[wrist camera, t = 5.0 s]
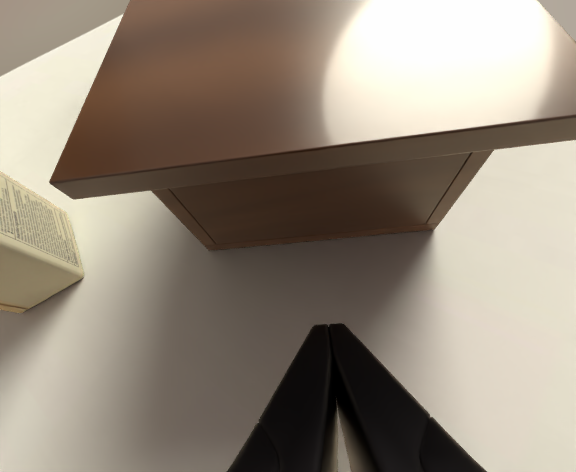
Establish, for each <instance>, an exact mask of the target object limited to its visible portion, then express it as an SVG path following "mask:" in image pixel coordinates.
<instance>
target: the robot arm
mask: <svg viewBox="0 0 576 472" xmlns="http://www.w3.org/2000/svg"><path fill="white" fill-rule="evenodd" d="M336 400H337V402H336ZM337 408H338V414H339V419H340V424H341V428H342V433H343V437H344V441H345V446H346V450H347V454H348V459H349V463H350V467H351V472H487V471H486V470H485V469H483V468H482V467H481V466H480V465H479V464H478V463H477V462H476V461H475V460H474V459H473V458H472V457H471V456H470V455H469V454H468V453H467V452H466V451H465V450H464V449H463V448H462V447H461V446H460V445H459V444H458V443H457V442H456V441H455V440H454V439H453V438H452V437H451V436H450V435H449V434H448V433H447V432H446V431H445V430H444V429H443V428H442V427H441V426H440V425H439V423H438V422H437V421H436V420H435V419H434V418H433V417H430V414H429V413H428V412H427V411H426V410H425V409H424V408H423V407H422V406H421V405H420V404H419V402H418V401H417V400H416V399H415V398H414V397H413V396H412V395H411V394H410V393H409V392H408V391H407V390H406V389H405V388H404V387H403V386H402V385H401V383H400V382H399V381H398V380H397V379H396V378H395V377H394V376H393V375H392V374H391V373H390V372H389V371H388V370H387V369H386V368H385V367H384V365H383V364H382V363H381V362H380V361H379V360H378V359H377V358H376V357H375V356H374V355H373V354H372V353H371V352H370V351H369V350H368V349H367V348H366V346H365V345H364V344H363V343H362V342H361V341H360V340H359V339H358V338H357V337H356V336H355V335H354V334H353V333H352V332H351V331H350V330H349V328H348V327H347V326H346V325H345V324H343V323H336V324H330V325H329V326H328V325H327V324H321V325H314V326H313V327H312V329H311V330H310V332H309V334H308V336H307V337H306V339H305V341H304V343H303V344H302V346H301V348H300V349H299V351H298V353H297V355H296V356H295V358H294V360H293V362H292V363H291V365H290V367H289V368H288V370H287V372H286V374H285V375H284V377H283V379H282V381H281V382H280V384H279V386H278V387H277V389H276V391H275V393H274V394H273V396H272V398H271V400H270V401H269V403H268V405H267V406H266V408H265V410H264V412H263V413H262V415H261V417H260V419H259V423H257V424H256V425H255V427H254V429H253V430H252V432H251V434H250V436H249V437H248V439H247V441H246V442H245V444H244V446H243V447H242V449H241V450H240V452H239V454H238V455H237V457H236V459H235V460H234V462H233V463H232V465H231V466H230V468H229V469H228V471H227V472H338V416H337Z"/></svg>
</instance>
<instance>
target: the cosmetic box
mask: <svg viewBox="0 0 576 472" xmlns="http://www.w3.org/2000/svg"><path fill="white" fill-rule="evenodd" d="M83 276H84V273H83V269H82V265H81V260H80V256H79V253H78V249H77V246H76V242H75V238H74V234H73V231H72V227H71V224H70V221H69V218H68V215H67V213H66V212H65V211H63V210H62V209H60V208H58V207H57V206H55V205H54V204H52V203H50V202H49V201H47V200H46V199H44V198H42V197H41V196H39V195H38V194H36V193H34V192H33V191H31V190H30V189H28V188H26V187H25V186H23V185H22V184H20V183H18V182H17V181H15V180H14V179H12V178H10V177H9V176H7V175H6V174H4V173H2V172H1V171H0V310H5V311H10V312H15V313H23V312H24V311H26V310H28V309H30V308H31V307H33V306H35V305H37V304H39V303H40V302H42V301H44V300H46V299H47V298H49V297H51V296H52V295H54V294H56V293H58V292H59V291H61V290H63V289H65V288H66V287H68V286H70V285H71V284H73V283H75V282H77V281H78V280H80V279H81V278H83Z"/></svg>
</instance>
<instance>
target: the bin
mask: <svg viewBox="0 0 576 472" xmlns="http://www.w3.org/2000/svg"><path fill="white" fill-rule="evenodd" d="M493 151H494V150H487V151H478V152H470V153H461V154H453V155H445V156H436V157H428V158H419V159H411V160H403V161H394V162H386V163H377V164H369V165H360V166H352V167H344V168H335V169H327V170H318V171H310V172H301V173H293V174H285V175H276V176H268V177H259V178H251V179H243V180H234V181H226V182H217V183H209V184H200V185H192V186H184V187H175V188H167V189H158V190H151V191H152V192H153V193H154V194H155V195H156V196H157V197H158V198H159V199H160V200H161V201H162V202H163V203H164V204H165V206H166V207H167V208H168V209H169V210H170V211H171V212H172V213H173V214H174V215H175V216H176V217H177V218H178V219H179V220H180V221H181V222H182V223H183V224H184V225H185V226H186V227H187V228H188V229H189V230H190V231H191V232H192V234H193V235H194V236H195V237H196V238H197V239H198V240H199V241H200V242H201V243H202V244H203V245H204V246H205V247H206V248H207V249H208V250H209V251H212V250H222V249H233V248H243V247H254V246H265V245H275V244H286V243H296V242H307V241H318V240H328V239H339V238H349V237H360V236H371V235H381V234H392V233H402V232H413V231H424V230H434V229H435V228H436V227H437V226H438V224H439V223H440V222H441V221H442V219H443V218H444V217H445V215H446V214H447V213H448V211H449V210H450V208H451V207H452V206H453V204H454V203H455V202H456V200H457V199H458V198H459V196H460V195H461V194H462V192H463V191H464V190H465V188H466V187H467V186H468V184H469V183H470V182H471V180H472V179H473V178H474V176H475V175H476V173H477V172H478V171H479V169H480V168H481V167H482V165H483V164H484V163H485V161H486V160H487V159H488V157H489V156H490V155H491V153H492V152H493Z"/></svg>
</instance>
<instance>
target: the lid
mask: <svg viewBox="0 0 576 472" xmlns="http://www.w3.org/2000/svg"><path fill="white" fill-rule="evenodd" d="M571 140H576V41H574V39H573V38H572V37H571V36H570V35H569V34H568V33H567V32H566V31H565V30H564V29H563V28H562V27H561V25H560V24H559V23H558V22H557V21H556V20H555V19H554V18H553V17H552V15H551V14H550V13H549V12H548V11H547V10H546V9H545V8H544V7H543V6H542V5H541V4H540V3H539V2H538V0H130V2H129V4H128V6H127V8H126V11H125V13H124V15H123V17H122V19H121V22H120V24H119V26H118V28H117V31H116V33H115V35H114V37H113V40H112V42H111V44H110V46H109V49H108V51H107V53H106V55H105V58H104V60H103V62H102V64H101V67H100V69H99V71H98V73H97V76H96V78H95V80H94V82H93V85H92V87H91V89H90V91H89V94H88V96H87V98H86V100H85V103H84V105H83V107H82V109H81V111H80V114H79V116H78V118H77V120H76V123H75V125H74V127H73V129H72V132H71V134H70V136H69V138H68V141H67V143H66V145H65V147H64V150H63V152H62V154H61V156H60V159H59V161H58V163H57V165H56V168H55V170H54V172H53V174H52V177H51V179H50V181H49V183H50V184H51V185H53V186H54V187H56V188H57V189H59V190H60V191H62V192H63V193H64V194H66V195H67V196H69V197H70V198H72V199H83V198H91V197H99V196H108V195H116V194H125V193H133V192H142V191H150V190H158V189H167V188H175V187H184V186H192V185H200V184H209V183H217V182H226V181H234V180H243V179H251V178H259V177H268V176H276V175H285V174H293V173H301V172H310V171H318V170H327V169H335V168H344V167H352V166H360V165H369V164H377V163H386V162H394V161H403V160H411V159H419V158H428V157H436V156H445V155H453V154H461V153H470V152H478V151H487V150H495V149H504V148H512V147H520V146H529V145H537V144H546V143H554V142H562V141H571Z"/></svg>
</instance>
